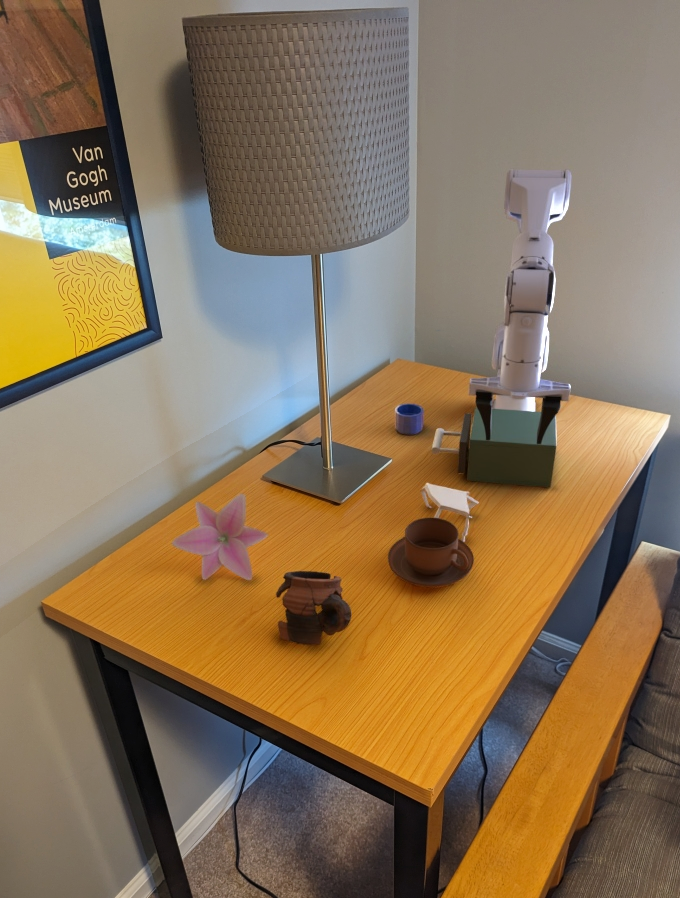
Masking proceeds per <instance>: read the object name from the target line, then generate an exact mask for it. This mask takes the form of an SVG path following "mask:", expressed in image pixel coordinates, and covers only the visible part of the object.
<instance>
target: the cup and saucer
mask: <svg viewBox="0 0 680 898" xmlns="http://www.w3.org/2000/svg"><path fill="white" fill-rule="evenodd" d="M459 536H460V535H459V530H458V528H457V527H456V525H455V524H453V523H452V522H450V521H449V520H446V519H443V518H440V517H439V518H434V517H421V518H418V519H415V520H413V521H412V522H410V523H409V524H408V525H406V528H405V529H404V537H401V538H399V539H398V540H396V541H395V543H393V545H391V547H390V549H389V551H388V554H387V562H388V565H389V567H390V569H391V571H392V572H393V573H394V574H395V575H396V576H397V577H398V578H399V579H401V580H403V581H404V582H406V583H408V584H411V585H414V586H416V587H421V588H443V587H447V586H450V585H453V584H455V583H458V582H460V581H462V580H463V579H465V578H466V577H467V576H468V575H469V574H470V572H471V571H472V569H473V566H474V562H475V556H474V553H473V551H472V549H471V548H470V546H469V545H468V544H467V543H465V541H464V542H463V541H462V539H459Z"/></svg>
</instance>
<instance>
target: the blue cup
mask: <svg viewBox="0 0 680 898" xmlns="http://www.w3.org/2000/svg"><path fill="white" fill-rule="evenodd" d="M424 412H425V411H424V407H423V406H421V405H419V404H416V403H402V404H399V405H397V406H396V407H395V408H394V428H395V430H396V431H397V432H398V433H399V434H401V435H405V436H406V435H407V436H413V435H417V434H419V433H420V432H421V431H422V430H423V429H424V414H425V413H424Z"/></svg>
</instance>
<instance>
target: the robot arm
mask: <svg viewBox="0 0 680 898" xmlns="http://www.w3.org/2000/svg"><path fill="white" fill-rule="evenodd" d="M505 178H506V179H505V189H504V200H503V201H504V203H503V209H504V214H505V216H506V219H507V220H510V221H512V222H515V223H516V224H517V227H518V231H519V234H518V235H517V236H516V237H515V239H514V241H513V243H512V250H511V259H510V269H509V272H507V273H506V277H505V287H504V296H503V298H504V299H503V309H504V321H503V322H501V323H500V324H498V325H497V327H496V328H495V332H494V338H493V344H492V345H493V347H492V356H491V367H492V369H493V371H497V376H489V377H488V376H487V377H470V378H469V383H468V396H475V406H476V407H475V408H477V409H478V411H479V413H480V415H481V418H482V420H483V424H484V428H485V434H486V440H490V438H491V429H492V409H505V410H520V411H535V412H536V402H535V400H536V399H542V401H541V410H540V412H541V417H540V422H539V426H538V431H537V444H541V443H542V439H543V436H544V434H545V432H546V430H547V428H548V426H549V424H550V423H551V421H552V420H553V418H554V417H555V416H556V417H557V415H558V413H559V411H560V410H561V406H562V402H569V401H570V394H571V384H570V383H564V382H557V381H553V380H547V379H543V378H541V373H544V371H546V369H547V367H548V359H549V358H548V357H549V347H550V331H549V329H548V326H547V325H548V317H549V315H550V314H551V312H552V309H553V306H554V299H555V292H556V271H555V265H553V262H554V248H555V247H554V241H553V238H552V237H551V235H550V234H548V230H549V229H548V228H549V226H550V225H551V224H552V223H555V222H559V221H561V220H563V217H565V215H566V213H567V211H568V209H569V203H570V195H571V188H572V178H573V177H572V172H571V171H570V169H568V168H565V169H515V168H510V169H509V170H508V171H507V173H506V177H505ZM546 308H548V311H547V309H546ZM494 396H495V398H494Z"/></svg>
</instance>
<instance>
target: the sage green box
mask: <svg viewBox="0 0 680 898" xmlns="http://www.w3.org/2000/svg"><path fill="white" fill-rule="evenodd" d="M540 417H541V411H536V410H535V411H520V410H505V409H493V408H492V429H491V438H490V440H486V434H485V428H484V424H483V420H482V418H481V415H480V413H479V411H478V409H477V407H474V414H473V420H472V423H471V432H470V445H469V451H468V460H467V462H468V463H467V475H466V476H467V478H466V481H468V482H477V483H490V484H501V485H502V484H503V485H515V486H528V487H541V488H551V486H552V480H553V474H554V473H553V472H554V467H555V461H556V460H555V459H556V453H557V445H558V444H557V415H556V416H555V417H554V418H553V420H552V421H551V423H550V424H549V426H548V428H547V430H546V432H545V434H544V436H543V439H542V443H541V444H537V431H538V426H539V422H540Z"/></svg>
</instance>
